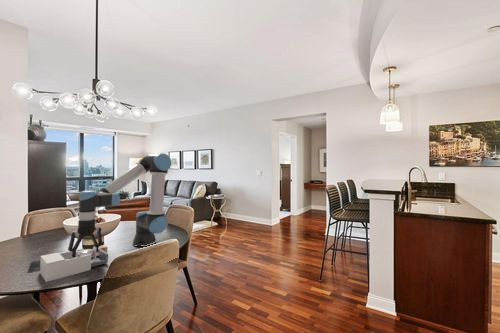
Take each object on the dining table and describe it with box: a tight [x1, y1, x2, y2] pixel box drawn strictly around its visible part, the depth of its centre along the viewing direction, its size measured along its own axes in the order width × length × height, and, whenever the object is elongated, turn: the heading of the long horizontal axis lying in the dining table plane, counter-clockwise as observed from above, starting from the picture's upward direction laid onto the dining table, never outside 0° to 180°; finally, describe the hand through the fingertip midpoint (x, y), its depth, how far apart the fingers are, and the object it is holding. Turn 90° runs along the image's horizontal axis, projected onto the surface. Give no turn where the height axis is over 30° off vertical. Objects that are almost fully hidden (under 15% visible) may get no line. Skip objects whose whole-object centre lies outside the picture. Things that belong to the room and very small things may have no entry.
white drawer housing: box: [39, 248, 92, 283], centre depth 119 cm, size 18×14×9 cm
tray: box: [91, 249, 109, 268], centre depth 126 cm, size 17×11×5 cm
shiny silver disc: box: [78, 248, 94, 257], centre depth 126 cm, size 8×8×2 cm
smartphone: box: [27, 260, 41, 274], centre depth 125 cm, size 8×1×15 cm
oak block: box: [96, 244, 108, 255], centre depth 143 cm, size 5×5×5 cm
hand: (85, 260), depth 126 cm, fingers closed on shiny silver disc, 8 cm apart
